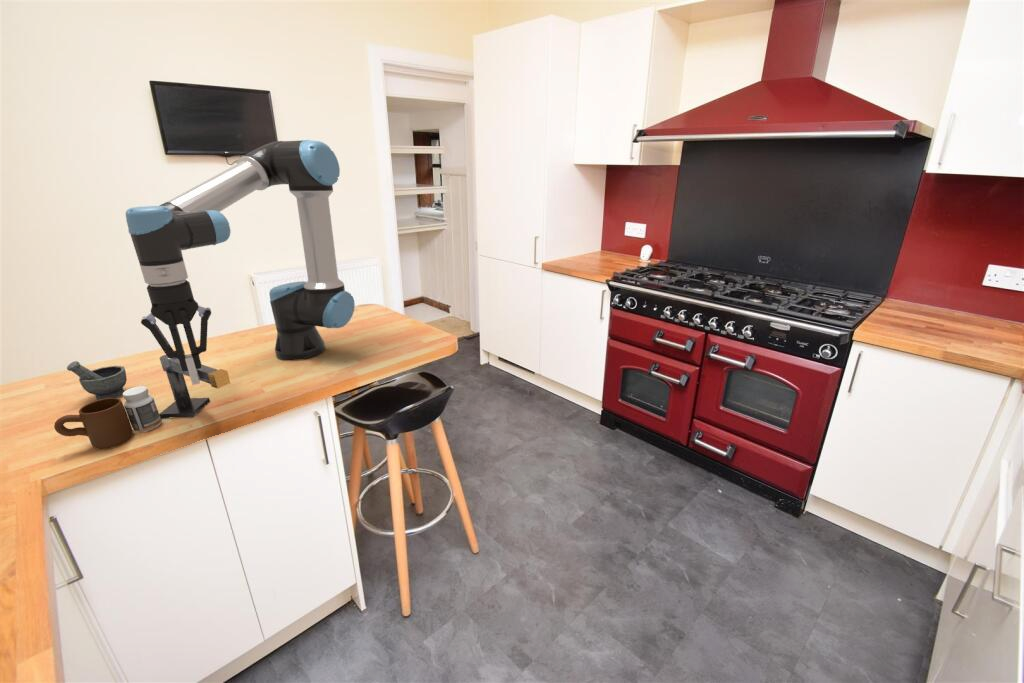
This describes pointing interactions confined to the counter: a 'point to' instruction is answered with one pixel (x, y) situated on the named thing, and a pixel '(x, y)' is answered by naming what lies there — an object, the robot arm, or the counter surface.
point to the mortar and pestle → (101, 380)
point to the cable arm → (205, 373)
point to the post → (182, 398)
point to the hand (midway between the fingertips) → (196, 381)
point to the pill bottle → (141, 409)
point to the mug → (100, 423)
